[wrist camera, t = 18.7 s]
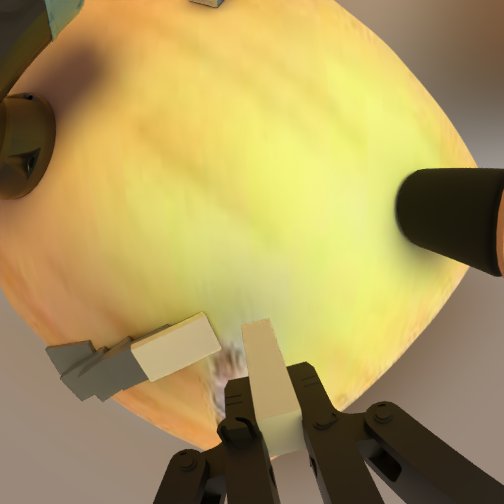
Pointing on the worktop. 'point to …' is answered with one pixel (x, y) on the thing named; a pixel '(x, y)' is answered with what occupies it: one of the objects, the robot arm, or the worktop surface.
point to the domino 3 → (101, 376)
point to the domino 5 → (176, 347)
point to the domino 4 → (127, 364)
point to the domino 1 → (69, 354)
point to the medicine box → (209, 2)
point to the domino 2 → (72, 375)
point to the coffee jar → (456, 214)
